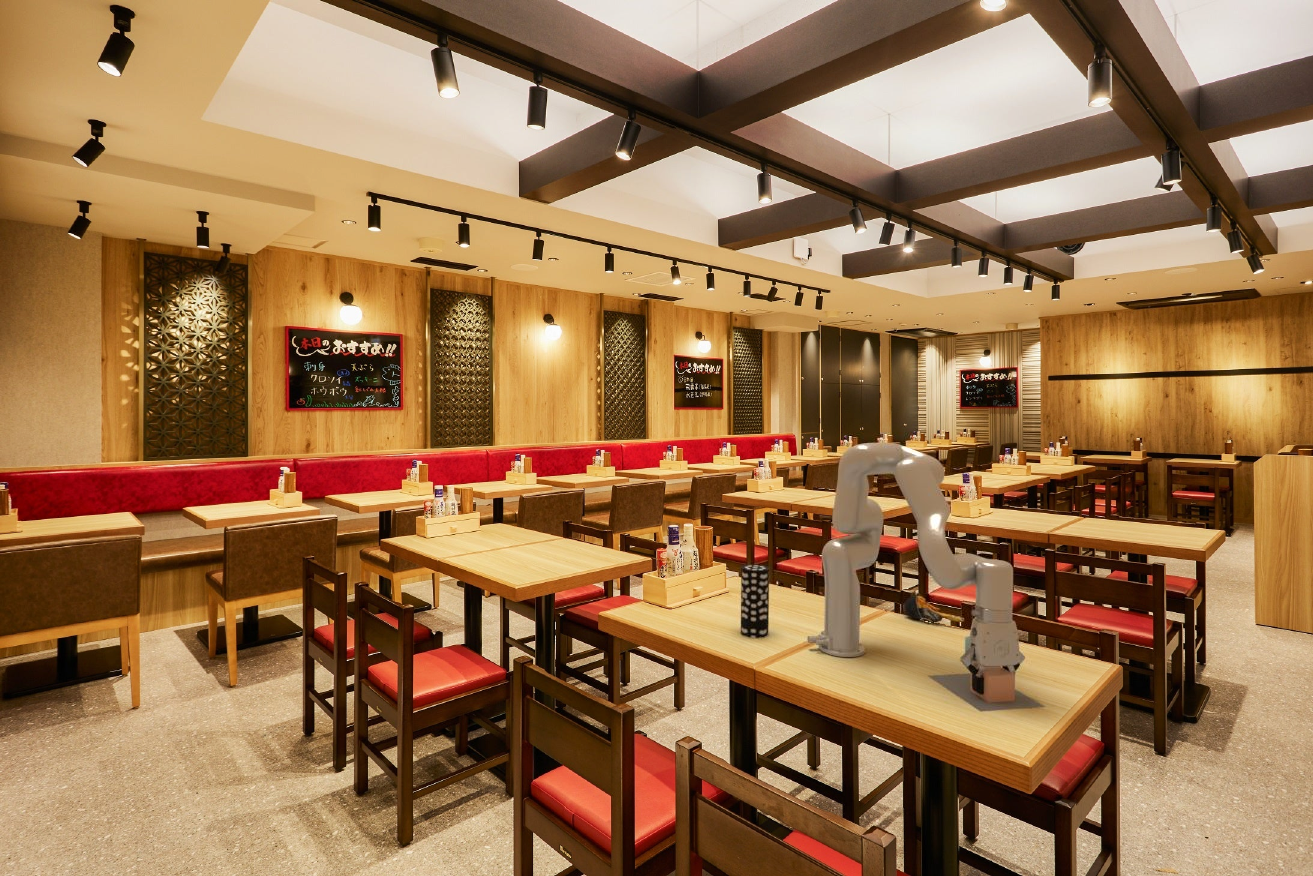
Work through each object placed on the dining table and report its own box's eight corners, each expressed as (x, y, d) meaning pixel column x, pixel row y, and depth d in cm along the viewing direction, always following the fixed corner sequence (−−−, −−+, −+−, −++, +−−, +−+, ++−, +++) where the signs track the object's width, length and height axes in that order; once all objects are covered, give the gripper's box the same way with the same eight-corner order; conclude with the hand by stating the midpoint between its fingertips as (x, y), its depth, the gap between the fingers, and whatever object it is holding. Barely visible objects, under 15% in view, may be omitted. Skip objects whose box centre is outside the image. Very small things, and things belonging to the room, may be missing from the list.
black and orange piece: (906, 598, 219) (961, 589, 209) (912, 631, 213) (969, 624, 203) (896, 593, 212) (952, 583, 202) (902, 627, 207) (961, 619, 197)
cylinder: (972, 669, 167) (973, 643, 167) (960, 662, 172) (961, 636, 172) (990, 668, 168) (990, 642, 168) (977, 661, 173) (978, 635, 173)
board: (980, 715, 141) (980, 711, 141) (927, 679, 160) (927, 675, 160) (1045, 711, 143) (1045, 706, 143) (985, 676, 163) (986, 672, 163)
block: (988, 702, 145) (989, 676, 145) (970, 690, 152) (970, 665, 151) (1014, 700, 146) (1015, 674, 146) (995, 689, 153) (995, 664, 152)
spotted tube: (739, 636, 192) (739, 569, 191) (742, 628, 200) (742, 564, 199) (767, 639, 190) (768, 571, 189) (769, 630, 198) (770, 565, 197)
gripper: (969, 620, 143) (968, 700, 144) (1039, 617, 146) (1037, 695, 146) (949, 611, 151) (947, 686, 151) (1015, 608, 153) (1014, 682, 154)
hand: (992, 690), depth 149 cm, fingers closed on block, 6 cm apart
